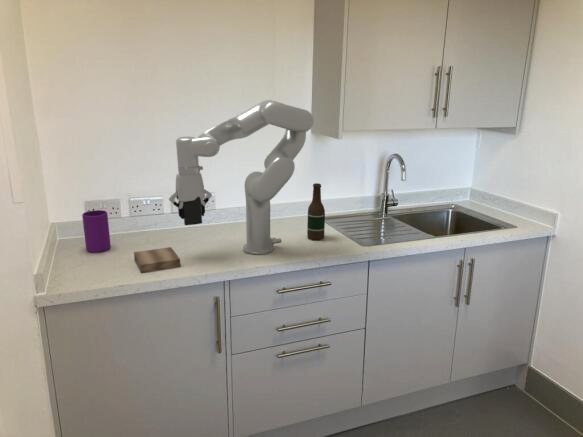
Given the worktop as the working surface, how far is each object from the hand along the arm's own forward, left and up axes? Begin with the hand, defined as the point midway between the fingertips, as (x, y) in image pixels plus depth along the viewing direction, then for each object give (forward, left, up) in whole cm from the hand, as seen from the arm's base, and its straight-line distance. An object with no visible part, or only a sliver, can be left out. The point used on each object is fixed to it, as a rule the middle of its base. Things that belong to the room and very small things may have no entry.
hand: (192, 216), depth 187 cm
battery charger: (0, 0, -3) cm, 3 cm away
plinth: (+15, +2, -16) cm, 22 cm away
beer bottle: (-53, +1, -16) cm, 56 cm away
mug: (+33, -26, -16) cm, 45 cm away
